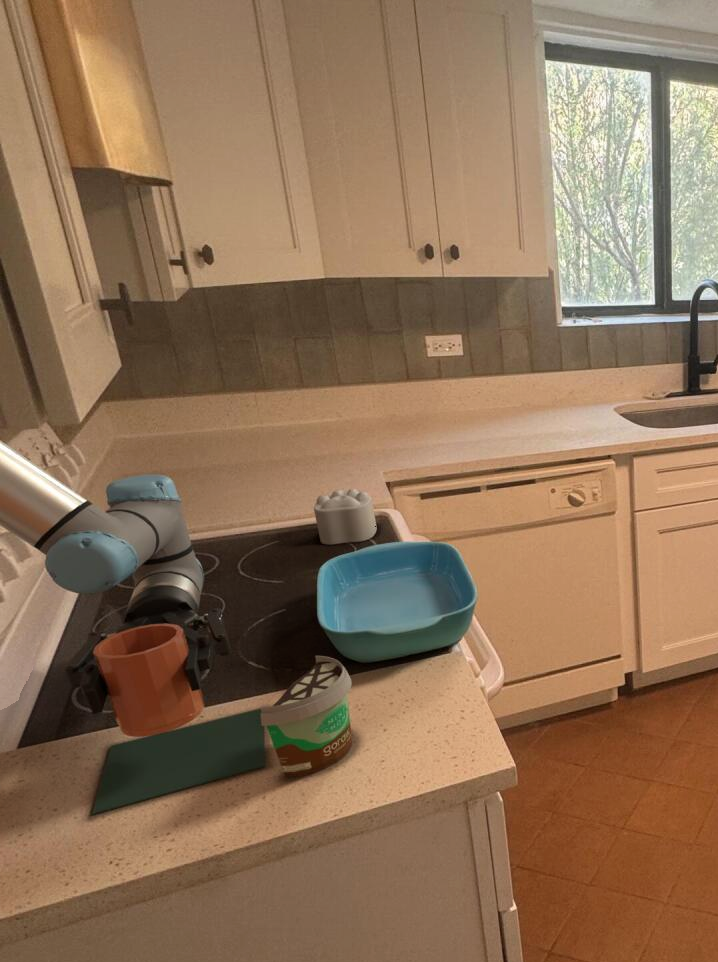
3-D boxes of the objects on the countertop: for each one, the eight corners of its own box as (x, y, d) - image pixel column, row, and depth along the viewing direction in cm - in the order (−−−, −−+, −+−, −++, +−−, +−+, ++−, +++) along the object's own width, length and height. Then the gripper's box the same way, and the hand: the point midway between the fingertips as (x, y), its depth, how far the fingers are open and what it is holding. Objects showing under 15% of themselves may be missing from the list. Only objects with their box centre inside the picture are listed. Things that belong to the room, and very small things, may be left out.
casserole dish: (494, 652, 116) (489, 609, 114) (327, 690, 107) (316, 643, 104) (456, 567, 147) (451, 531, 144) (323, 590, 137) (315, 552, 135)
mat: (111, 747, 95) (110, 745, 95) (263, 709, 103) (263, 707, 102) (92, 815, 84) (91, 813, 84) (265, 766, 91) (264, 765, 91)
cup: (125, 709, 92) (99, 634, 88) (206, 690, 96) (184, 617, 92) (115, 745, 85) (87, 665, 82) (202, 723, 89) (179, 645, 86)
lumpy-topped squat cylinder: (316, 545, 157) (308, 505, 154) (327, 525, 169) (319, 486, 166) (373, 540, 160) (365, 499, 157) (380, 519, 172) (373, 482, 169)
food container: (331, 786, 88) (313, 710, 84) (277, 785, 88) (257, 709, 85) (381, 722, 100) (367, 653, 96) (333, 722, 100) (317, 653, 96)
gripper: (261, 617, 109) (263, 693, 91) (71, 656, 99) (30, 750, 81) (249, 568, 106) (248, 636, 88) (52, 603, 96) (5, 687, 78)
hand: (144, 690), depth 85 cm, fingers closed on cup, 8 cm apart
